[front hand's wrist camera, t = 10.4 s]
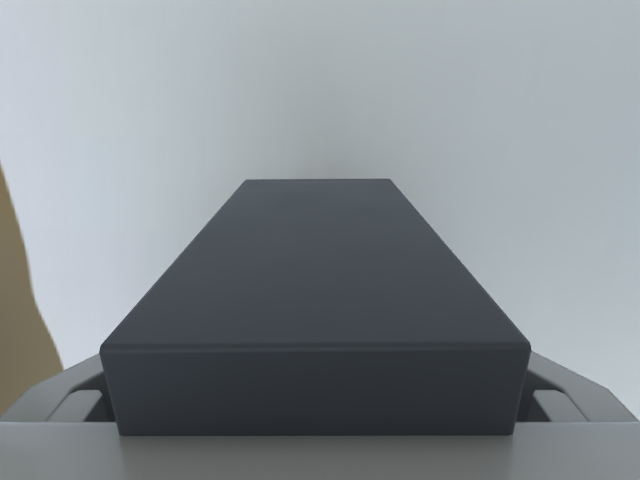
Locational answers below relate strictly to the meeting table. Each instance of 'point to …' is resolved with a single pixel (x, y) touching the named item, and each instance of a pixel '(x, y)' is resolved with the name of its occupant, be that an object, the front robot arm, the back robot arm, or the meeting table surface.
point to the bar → (316, 326)
